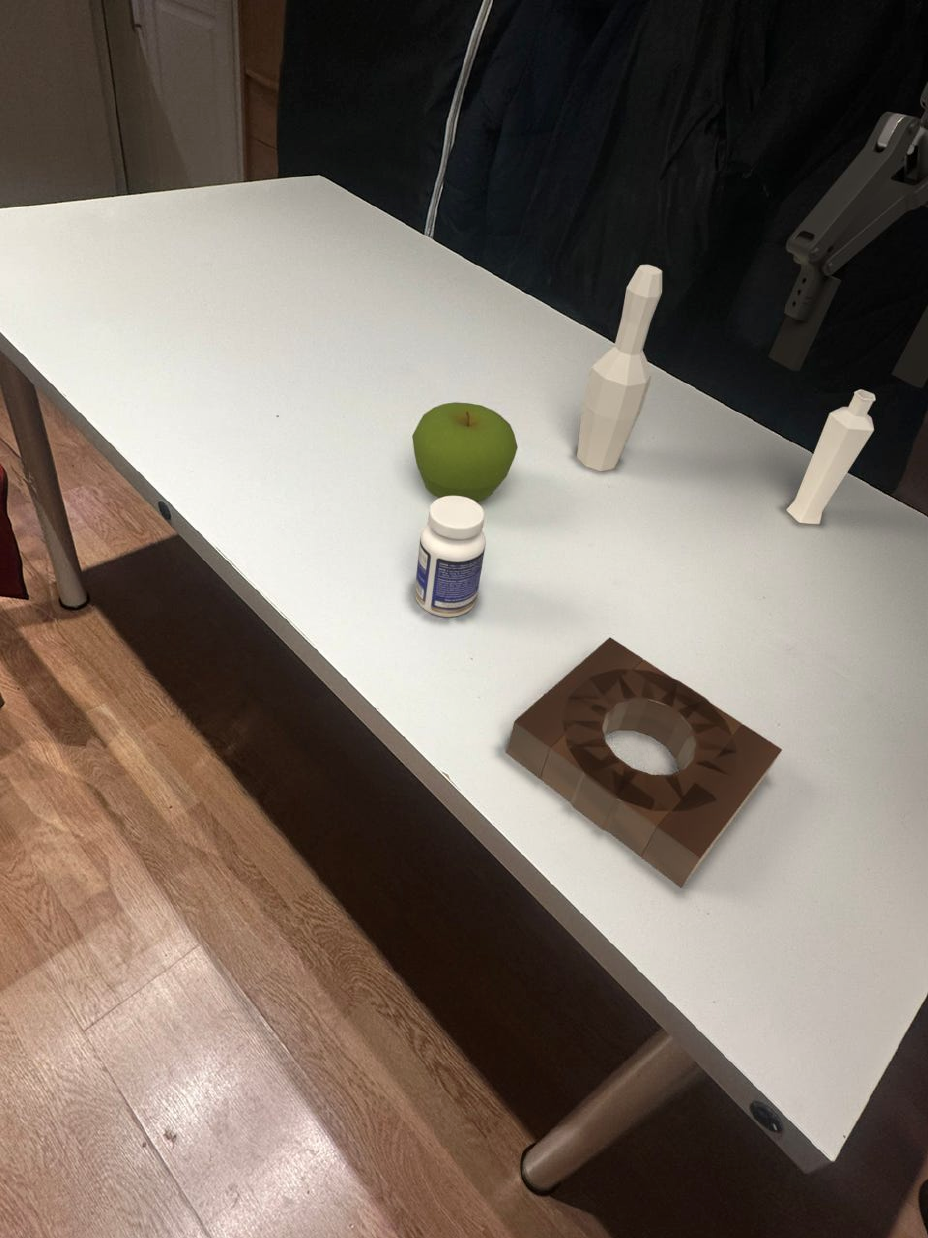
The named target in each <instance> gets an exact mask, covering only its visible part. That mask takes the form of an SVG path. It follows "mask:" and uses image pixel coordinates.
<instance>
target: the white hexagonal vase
mask: <svg viewBox="0 0 928 1238" xmlns="http://www.w3.org/2000/svg"><path fill="white" fill-rule="evenodd" d="M853 394H854V395H853V396H852V399H851V401H850V402H849V405H848V406H841V407H840V408H838V409H835V410H833V411H831V412H829V414H828V416H827V419H826V421H825V424H824V426H823V429H822V431H821V434H820V436H819V439H818V441H817V444H816V446H815V449H814V452H813V454H812V456H811V460H810V461H809V464H808V466H807V469H806V472H805V474H804V477H803V479H802V482H801V484H800V487H799V488H798V491H797V494H796V497H795V499H794V500H793V501H792V502H791V504H790V505H789V506H788V507H787V508H786V509H785V510H786V512H787V513H788V514H789V515H790V516H791V517H792V518H793V519H795V520H796V521H797V522H798V523H799V524H808V525H820V524H821V519H822V516H823V511H824V509H825V508H826V506H827V504H828V503H829V502H830V500H831V499H832V497H833V495H834V494H835V493H836V490H837V489H838V487H839V486H840V484H841V483H842V481H843V479H844V478H845V476H846V475H847V474H848V472H849V471H850V469H851V467H852V465H853V464H854V463H855V461H856V459H857V458H858V456H859V454H860V453H861V451H862V450H863V448H864V447H865V445H866V443H867V442H868V440H869V439H870V437H871V436H872V434H873V432H874V431H875V428H874V427H875V426H874V422H873V419H872V416H870V415H869V414H868V412H869V411H870V408H871V407H872V405H873V403H874V402H875V401H876V394H874V393H873V392H870V391H867V390H865V389H862V388H861V389H858V390H856V391H854V392H853Z"/></svg>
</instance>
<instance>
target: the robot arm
mask: <svg viewBox="0 0 928 1238" xmlns="http://www.w3.org/2000/svg"><path fill="white" fill-rule="evenodd" d="M919 102H920V105H921V107H922V108H923V109H924V112H923V114H922V116H921V118H919V117H916V116H911V115H907V114H901V113H896V112H891V111H886V112H884V113H883V114H882V115H880V117H879V119H878V121H877V123H876V125H875V126H874V129H873V131H872V132H871V134H870V136H869V138H868V140H867V141H866V144H865V145H864V147H863V148H862V150H861V151H860V152H859V153H858V154H857V156H856V157H855V158H854V159H853V161H851V163H850V164H849V165H848V167H847V168H846V169H845V170H844V172H843V173H842V174H841V175H840V176H839V177H838V179H837V180H836V181H835V182H834V183H833V184H832V186H831V187H830V188H829V189H828V191H827V192H826V193H825V194H824V195H823V196H822V197H821V199H820V200H819V201H818V203H817V204H816V205H815V206H814V207H813V209H812V210H811V211H810V212H809V213H808V215H806V217H805V218H804V220H802V221H801V223H800V224H799V225H798V227H797V228H796V229H795V230H794V231H793V232H792V234H791V235H790V236H789V237H788V239H787V241H786V244H785V249H786V252H788V253H790V254H792V255H793V262H794V263H796V264H798V265H800V267H801V268H800V271H799V273H798V276H797V278H796V279H795V280H796V281H795V283H794V284H793V287H792V290H791V292H790V294H789V297H788V299H787V301H786V304H785V307H784V311H783V312H784V314H785V315H786V316H785V318H784V320H783V323H782V325H781V327H780V329H779V332H778V334H777V336H776V338H775V341H774V342H773V343H774V344H773V345H772V348H771V350H770V352H769V354H768V358H769V359H771V360H772V361H775V362H776V363H778V364H779V365H781V366H783V367H784V368H786V369H788V370H790V371H793V372H799V371H800V370H801V368H802V366H803V364H804V362H805V360H806V357H807V355H808V353H809V351H810V348H811V347H812V344H813V342H814V341H815V338H816V336H817V334H818V332H819V329H820V327H821V325H822V324H823V320H824V319H825V316H826V314H827V312H828V311H829V308H830V306H831V303H832V302H833V300H834V297H835V296H836V293H837V290H838V288H839V286H840V284H841V282H842V279H840V278H837V277H835V276H832V275H833V274H834V273H836V272H837V271H838V270H839V269H841V268H842V267H843V266H844V265H845V264H847V263H848V262H849V261H850V260H851V259H852V258H853V257H855V256H856V255H857V254H858V253H859V252H860V251H862V250H863V249H864V248H865V247H867V246H868V245H869V244H870V243H872V241H874V240H875V238H877V237H878V236H880V234H882V233H883V232H884V231H885V230H886V229H888V228H889V227H890V226H891V225H893V223H896V221H898V220H899V219H900V217H902V216H903V215H905V213H907V212H910V211H912V210H917V209H919V208H920V207H921V206H922V207H925V208H928V81H927V82H926V85H925V87H924V88H923V91H922V93H921V96H920V99H919ZM890 375H892V376H893V377H895V378H898V379H900V380H902V381H903V382H905V383H907V384H909V385H911V386H913V387H915V388H923V387H924V386H925V384H926V382H927V380H928V305H927V306H926V307H925V309H924V312H923V313H922V315H921V317H920V319H919V321H918V323H917V324H916V327H915V328H914V331H913V332H912V334H911V336H910V338H909V340H908V342H907V343H906V346H905V347H904V350H903V351H902V353H901V355H900V357H899V359H898V360H897V362H896V364H895V366H894V368H893V370H892V372H891V373H890Z"/></svg>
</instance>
